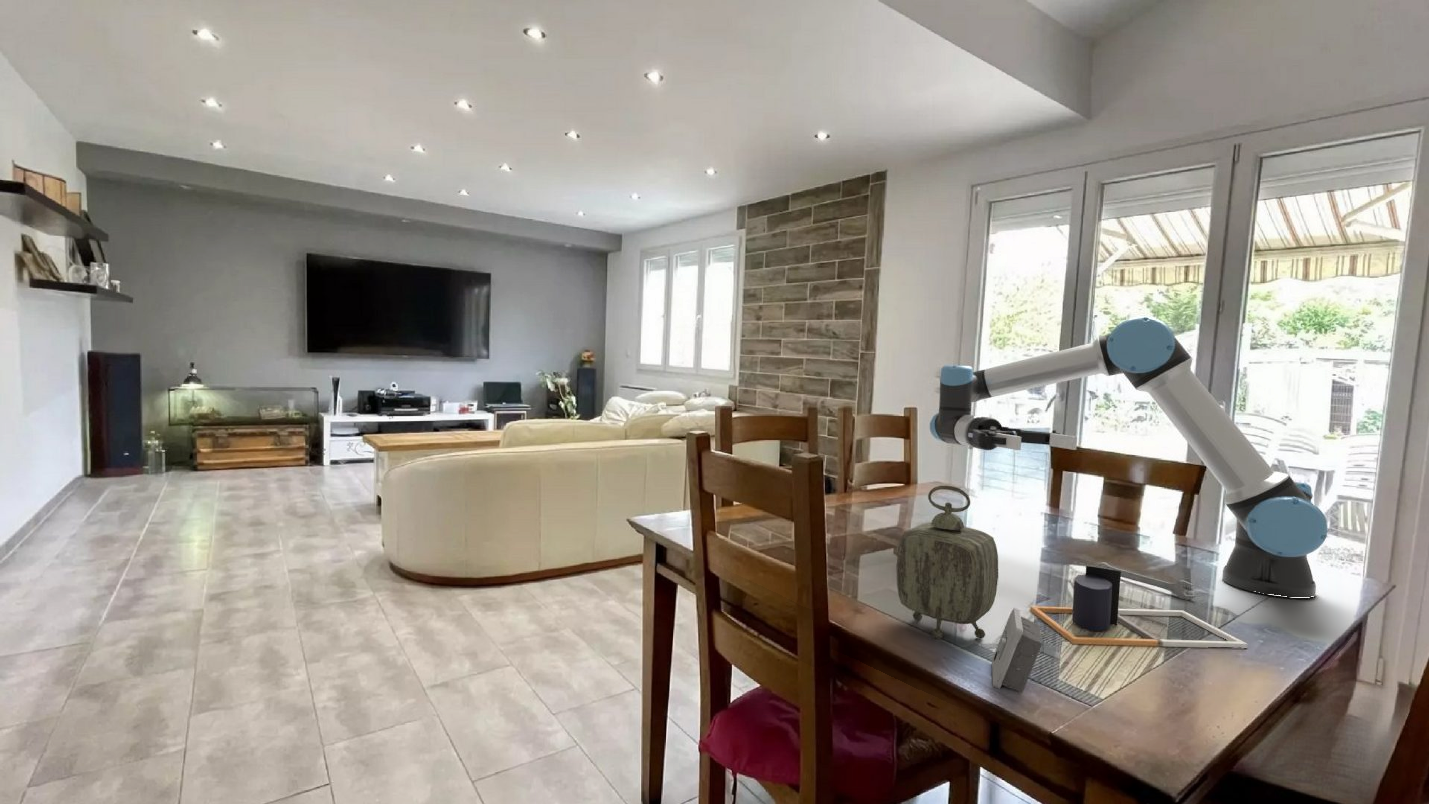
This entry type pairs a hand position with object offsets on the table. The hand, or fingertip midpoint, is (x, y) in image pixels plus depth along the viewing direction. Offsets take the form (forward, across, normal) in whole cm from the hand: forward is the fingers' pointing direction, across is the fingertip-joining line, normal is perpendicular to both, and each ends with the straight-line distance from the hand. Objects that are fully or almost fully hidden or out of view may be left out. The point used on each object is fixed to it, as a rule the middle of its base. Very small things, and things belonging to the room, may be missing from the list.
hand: (1047, 443), depth 132 cm
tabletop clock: (+16, +34, -30) cm, 49 cm away
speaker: (+19, +5, -30) cm, 36 cm away
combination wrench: (+2, -24, -30) cm, 39 cm away
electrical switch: (+32, +33, -30) cm, 55 cm away
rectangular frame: (+21, -1, -30) cm, 36 cm away
